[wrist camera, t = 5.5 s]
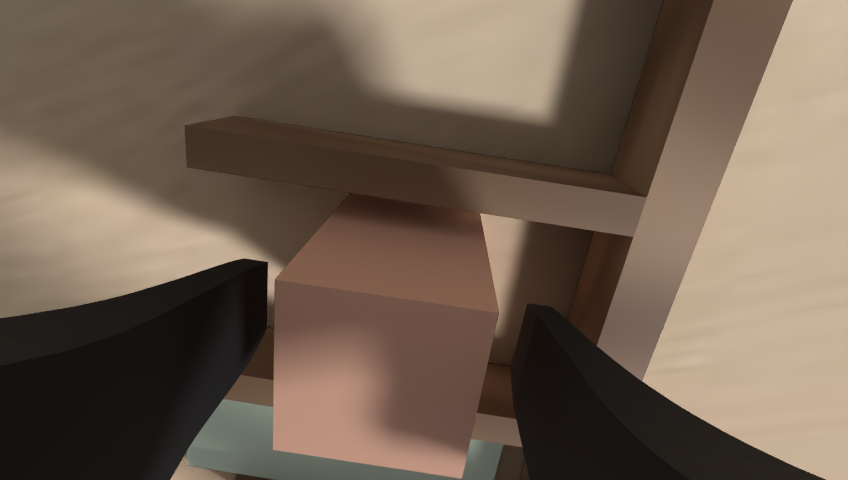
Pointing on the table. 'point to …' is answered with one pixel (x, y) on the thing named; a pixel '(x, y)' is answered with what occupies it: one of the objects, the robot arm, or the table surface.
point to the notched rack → (524, 218)
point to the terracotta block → (384, 337)
